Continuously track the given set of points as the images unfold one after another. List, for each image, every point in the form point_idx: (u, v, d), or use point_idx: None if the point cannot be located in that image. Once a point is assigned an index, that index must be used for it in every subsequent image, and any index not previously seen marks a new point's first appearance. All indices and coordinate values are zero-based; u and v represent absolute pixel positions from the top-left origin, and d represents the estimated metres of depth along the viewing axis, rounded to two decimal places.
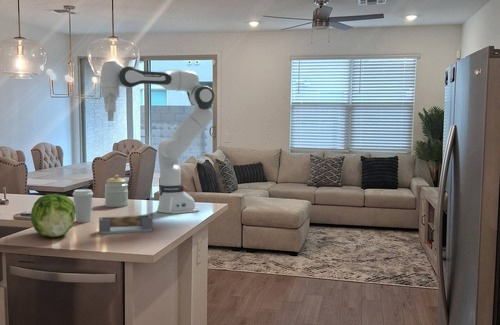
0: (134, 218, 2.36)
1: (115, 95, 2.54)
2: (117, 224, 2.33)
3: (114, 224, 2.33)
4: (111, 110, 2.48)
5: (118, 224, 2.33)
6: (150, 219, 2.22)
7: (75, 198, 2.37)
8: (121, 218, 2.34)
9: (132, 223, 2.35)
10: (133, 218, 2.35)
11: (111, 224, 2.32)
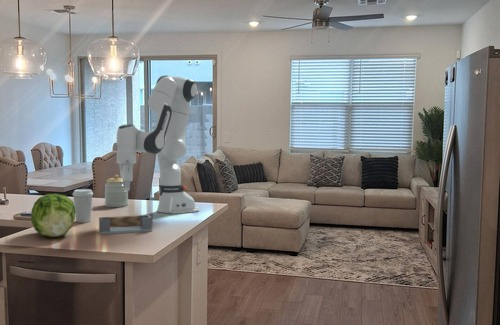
0: (134, 218, 2.35)
1: (132, 162, 2.31)
2: (117, 224, 2.33)
3: (114, 224, 2.33)
4: (128, 180, 2.25)
5: (118, 224, 2.33)
6: (150, 219, 2.22)
7: (76, 198, 2.37)
8: (121, 218, 2.34)
9: (132, 223, 2.35)
10: (133, 218, 2.35)
11: (111, 224, 2.32)
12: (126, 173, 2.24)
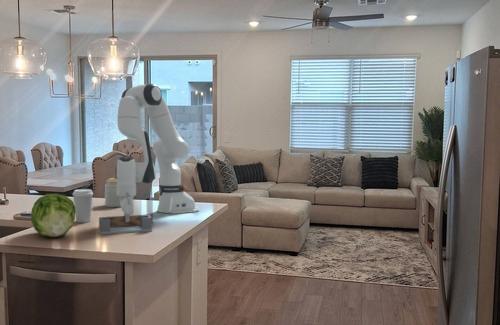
0: (134, 218, 2.35)
1: (132, 194, 2.32)
2: (117, 224, 2.33)
3: (114, 224, 2.33)
4: (128, 213, 2.26)
5: (118, 224, 2.33)
6: (150, 219, 2.22)
7: (75, 198, 2.37)
8: (121, 218, 2.34)
9: (132, 223, 2.35)
10: (133, 218, 2.35)
11: (111, 224, 2.32)
12: (126, 206, 2.26)
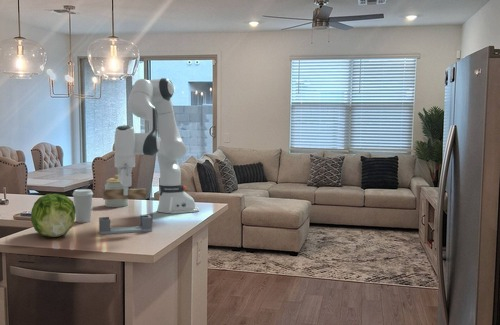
0: (132, 191, 2.20)
1: (131, 165, 2.17)
2: (114, 197, 2.18)
3: (111, 197, 2.18)
4: (126, 185, 2.11)
5: (115, 197, 2.18)
6: (150, 219, 2.22)
7: (75, 198, 2.37)
8: (119, 191, 2.18)
9: (130, 196, 2.20)
10: (131, 191, 2.20)
11: (108, 197, 2.17)
12: (124, 178, 2.11)
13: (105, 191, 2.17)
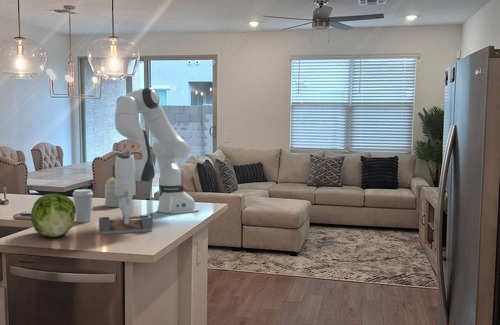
0: (133, 221, 2.22)
1: (131, 193, 2.18)
2: (115, 228, 2.19)
3: (112, 228, 2.19)
4: (127, 214, 2.12)
5: (115, 228, 2.19)
6: (150, 219, 2.22)
7: (75, 198, 2.37)
8: (119, 221, 2.20)
9: (131, 227, 2.22)
10: (132, 221, 2.21)
11: None
12: (125, 206, 2.12)
13: None
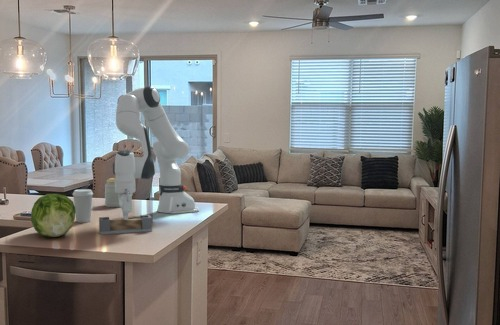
0: (133, 221, 2.22)
1: (131, 191, 2.18)
2: (115, 228, 2.19)
3: (112, 228, 2.19)
4: (127, 211, 2.12)
5: (115, 228, 2.19)
6: (150, 219, 2.22)
7: (75, 198, 2.37)
8: (119, 221, 2.20)
9: (131, 227, 2.22)
10: (132, 221, 2.21)
11: None
12: (125, 204, 2.12)
13: None
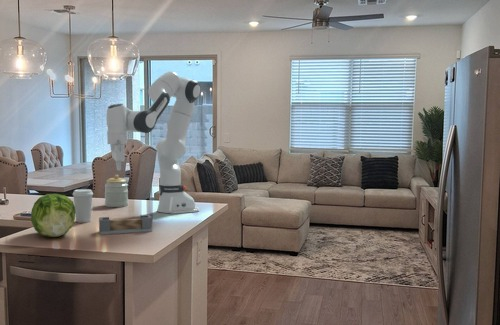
0: (133, 221, 2.22)
1: (123, 142, 2.27)
2: (115, 228, 2.19)
3: (112, 228, 2.19)
4: (119, 160, 2.21)
5: (115, 228, 2.19)
6: (150, 219, 2.22)
7: (76, 198, 2.37)
8: (119, 221, 2.20)
9: (131, 227, 2.22)
10: (132, 221, 2.21)
11: None
12: (117, 153, 2.20)
13: None
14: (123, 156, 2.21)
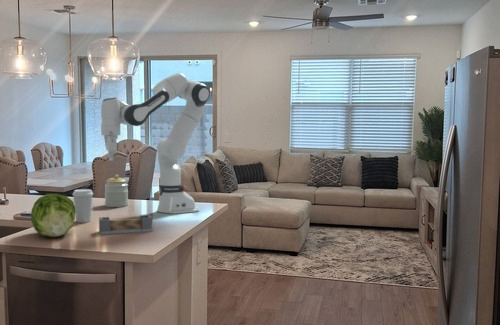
0: (133, 221, 2.22)
1: (116, 134, 2.38)
2: (115, 228, 2.19)
3: (112, 228, 2.19)
4: (111, 151, 2.32)
5: (115, 228, 2.19)
6: (150, 219, 2.22)
7: (75, 198, 2.37)
8: (119, 221, 2.20)
9: (131, 227, 2.22)
10: (132, 221, 2.21)
11: None
12: (110, 144, 2.32)
13: None
14: (115, 147, 2.32)
